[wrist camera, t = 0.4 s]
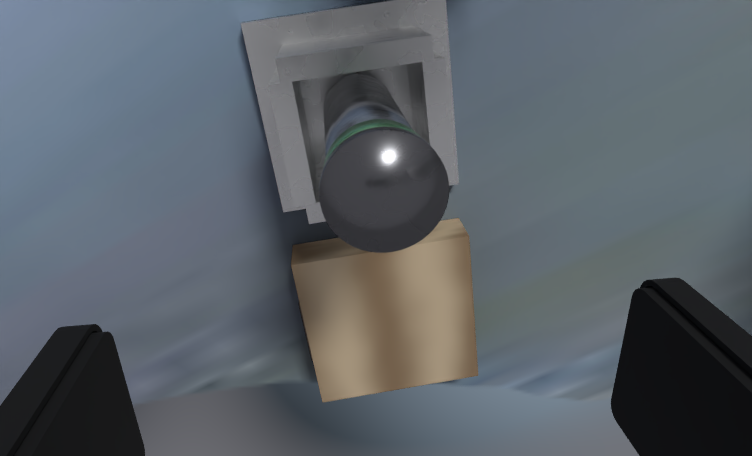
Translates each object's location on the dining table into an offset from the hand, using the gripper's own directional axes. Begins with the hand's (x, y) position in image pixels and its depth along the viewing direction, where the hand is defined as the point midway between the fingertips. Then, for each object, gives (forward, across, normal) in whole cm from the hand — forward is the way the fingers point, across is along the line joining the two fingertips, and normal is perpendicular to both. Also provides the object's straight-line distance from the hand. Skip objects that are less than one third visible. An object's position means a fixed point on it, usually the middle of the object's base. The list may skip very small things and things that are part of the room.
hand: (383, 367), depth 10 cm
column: (+26, -1, +1) cm, 26 cm away
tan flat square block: (+27, -3, +16) cm, 32 cm away
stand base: (+27, -1, +1) cm, 27 cm away
